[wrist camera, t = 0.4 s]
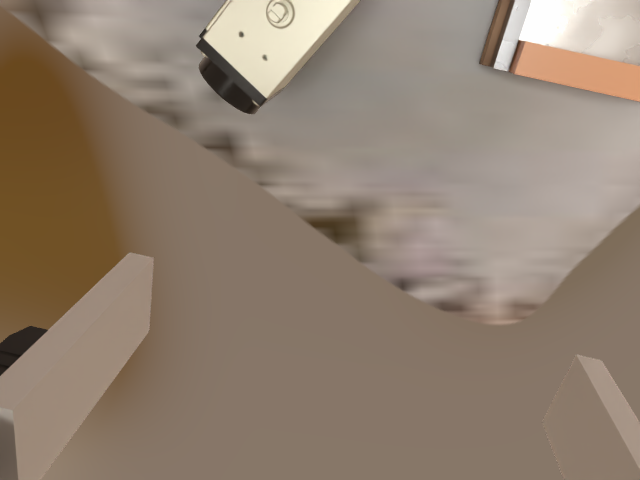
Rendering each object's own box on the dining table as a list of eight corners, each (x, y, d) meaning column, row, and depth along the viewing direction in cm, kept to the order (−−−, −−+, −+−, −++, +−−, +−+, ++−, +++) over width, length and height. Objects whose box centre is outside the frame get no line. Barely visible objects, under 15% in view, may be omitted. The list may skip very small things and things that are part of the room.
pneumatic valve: (391, -30, 35) (394, -50, 24) (279, 98, 39) (239, 129, 28) (332, -94, 34) (308, -146, 23) (223, 44, 38) (159, 56, 27)
